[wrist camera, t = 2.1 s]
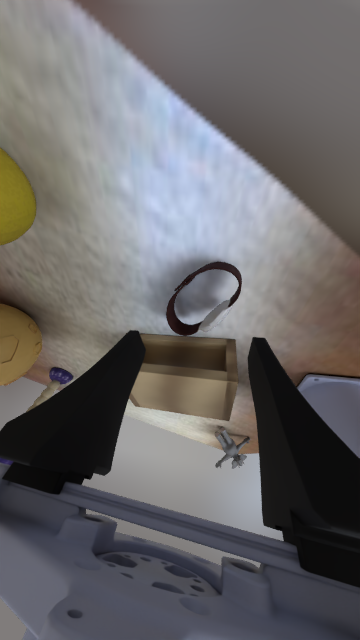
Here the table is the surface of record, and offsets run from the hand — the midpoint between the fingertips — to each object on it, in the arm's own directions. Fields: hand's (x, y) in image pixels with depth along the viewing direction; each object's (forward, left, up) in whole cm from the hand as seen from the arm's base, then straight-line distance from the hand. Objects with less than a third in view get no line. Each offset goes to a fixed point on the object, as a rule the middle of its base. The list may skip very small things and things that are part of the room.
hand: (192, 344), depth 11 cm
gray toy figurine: (-5, +40, -6) cm, 41 cm away
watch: (0, 0, -6) cm, 6 cm away
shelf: (+3, +11, -6) cm, 13 cm away
